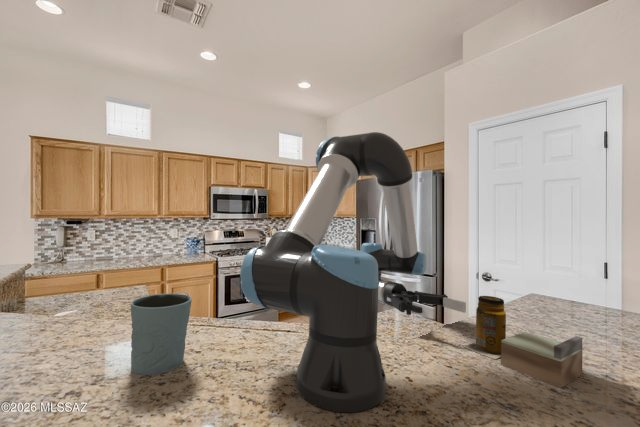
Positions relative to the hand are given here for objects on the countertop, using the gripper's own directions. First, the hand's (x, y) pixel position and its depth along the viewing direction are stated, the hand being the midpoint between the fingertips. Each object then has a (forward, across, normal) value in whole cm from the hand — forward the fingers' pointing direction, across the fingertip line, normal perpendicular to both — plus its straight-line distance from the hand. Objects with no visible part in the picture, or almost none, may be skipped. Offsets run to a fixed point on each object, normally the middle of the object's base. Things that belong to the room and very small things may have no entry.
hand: (450, 310), depth 76 cm
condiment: (+10, 0, -7) cm, 12 cm away
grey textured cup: (-16, +66, -7) cm, 68 cm away
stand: (+20, 0, -6) cm, 21 cm away
